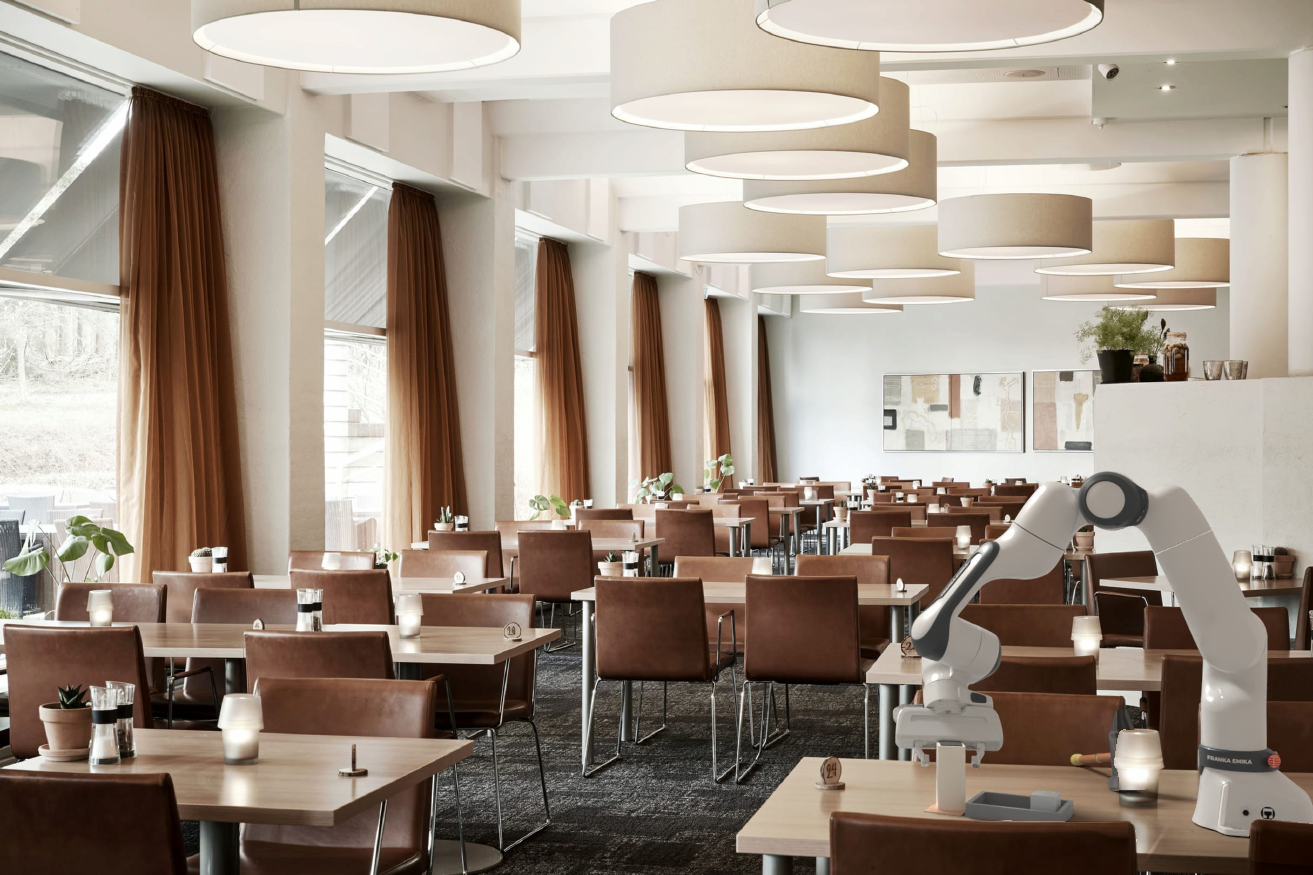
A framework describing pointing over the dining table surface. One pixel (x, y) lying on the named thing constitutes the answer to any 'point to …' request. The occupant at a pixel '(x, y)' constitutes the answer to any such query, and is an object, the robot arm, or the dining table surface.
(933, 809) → the pad
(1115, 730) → the hammer
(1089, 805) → the dining table surface
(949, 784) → the white box
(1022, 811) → the parts tray
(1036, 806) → the grey block
